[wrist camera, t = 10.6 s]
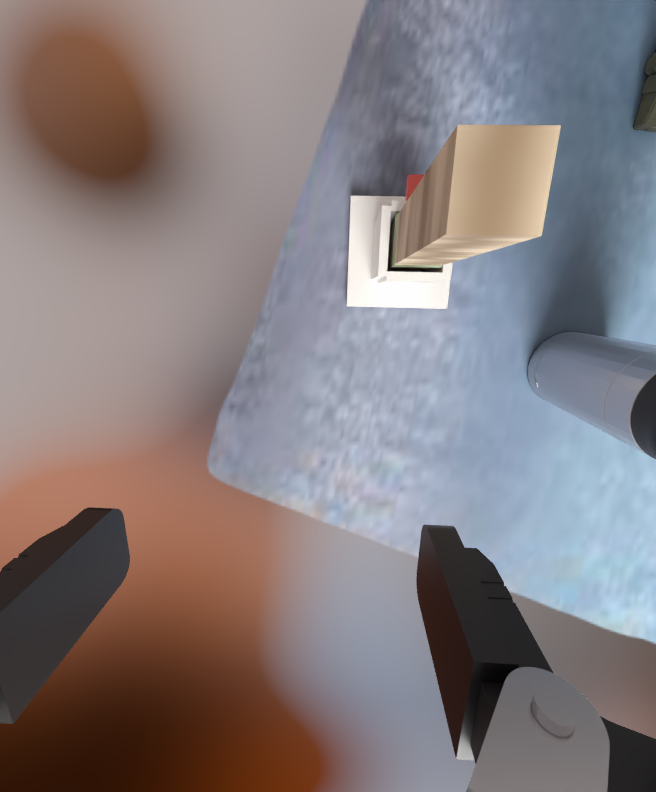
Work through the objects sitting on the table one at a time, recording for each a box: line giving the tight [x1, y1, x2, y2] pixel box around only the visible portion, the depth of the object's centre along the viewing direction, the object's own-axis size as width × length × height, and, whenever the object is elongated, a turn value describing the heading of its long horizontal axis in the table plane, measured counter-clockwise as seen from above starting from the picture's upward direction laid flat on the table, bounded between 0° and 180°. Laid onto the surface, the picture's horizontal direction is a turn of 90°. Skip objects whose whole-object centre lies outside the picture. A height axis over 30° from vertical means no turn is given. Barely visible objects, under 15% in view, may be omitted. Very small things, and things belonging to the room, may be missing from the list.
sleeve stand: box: [347, 175, 453, 309], centre depth 37 cm, size 12×12×12 cm
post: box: [388, 125, 561, 269], centre depth 25 cm, size 4×4×22 cm
